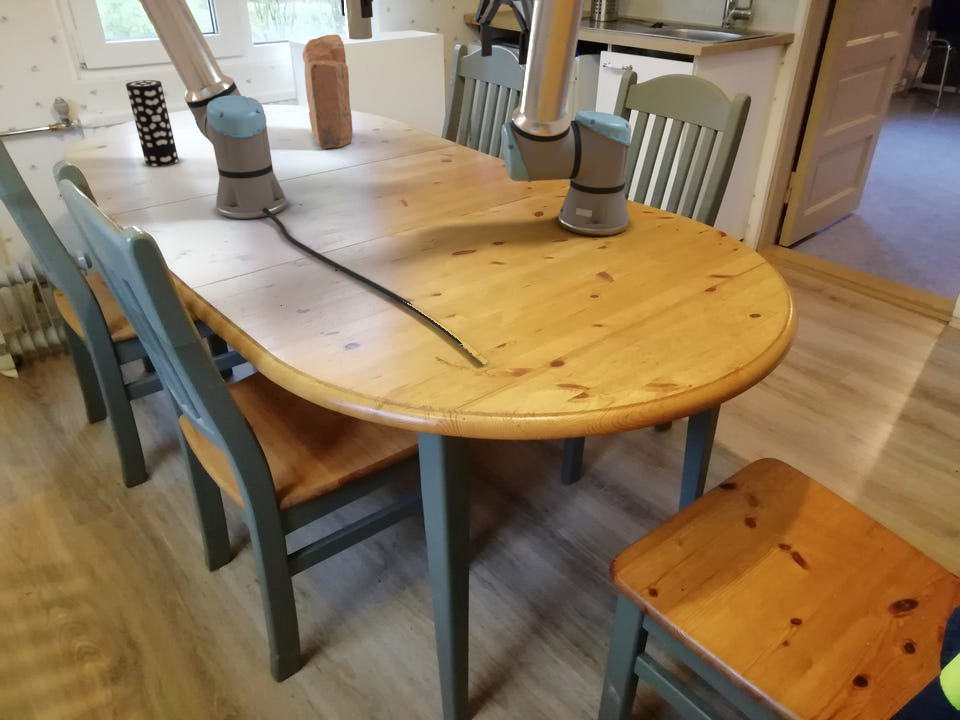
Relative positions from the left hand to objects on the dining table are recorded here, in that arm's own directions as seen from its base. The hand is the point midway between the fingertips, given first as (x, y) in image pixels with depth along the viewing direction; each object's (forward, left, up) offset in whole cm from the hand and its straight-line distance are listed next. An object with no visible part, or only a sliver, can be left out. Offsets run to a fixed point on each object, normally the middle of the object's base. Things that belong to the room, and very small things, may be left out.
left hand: (357, 16), depth 162 cm
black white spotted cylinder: (+32, +47, -27) cm, 63 cm away
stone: (+33, -1, -37) cm, 50 cm away
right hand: (-20, -29, -9) cm, 36 cm away
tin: (0, 0, -5) cm, 5 cm away
